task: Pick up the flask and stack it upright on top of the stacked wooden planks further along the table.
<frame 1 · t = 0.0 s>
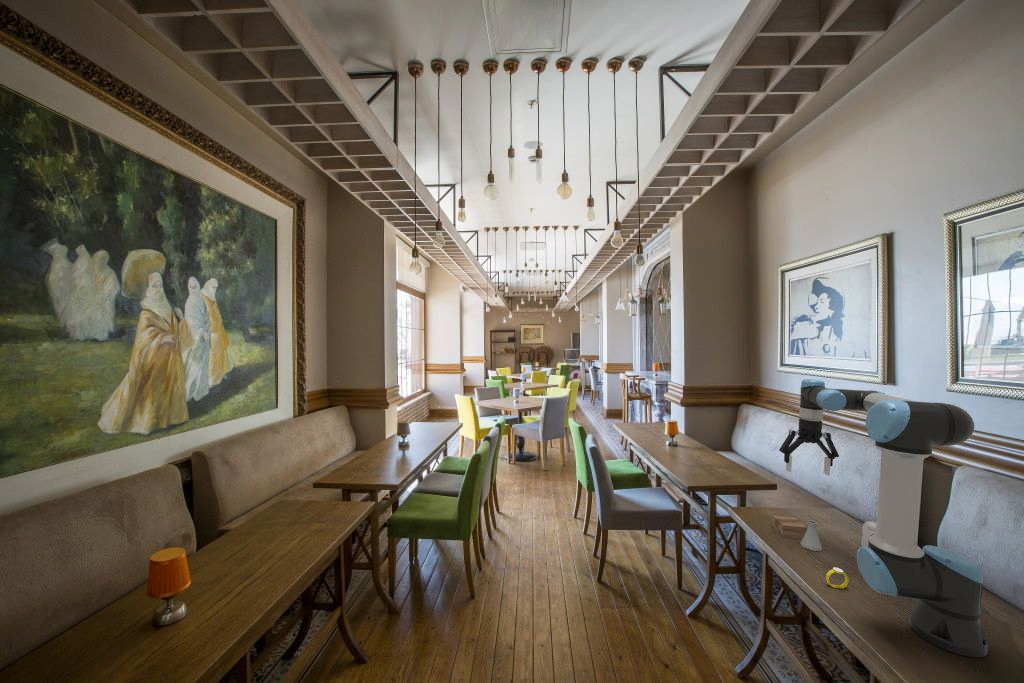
hand: (807, 472, 167), 28 cm above the table, fingers open, 13 cm apart
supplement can: (874, 567, 152), on the table
flask: (810, 547, 165), on the table
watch: (836, 587, 139), on the table
stacked wooden planks: (788, 533, 176), on the table
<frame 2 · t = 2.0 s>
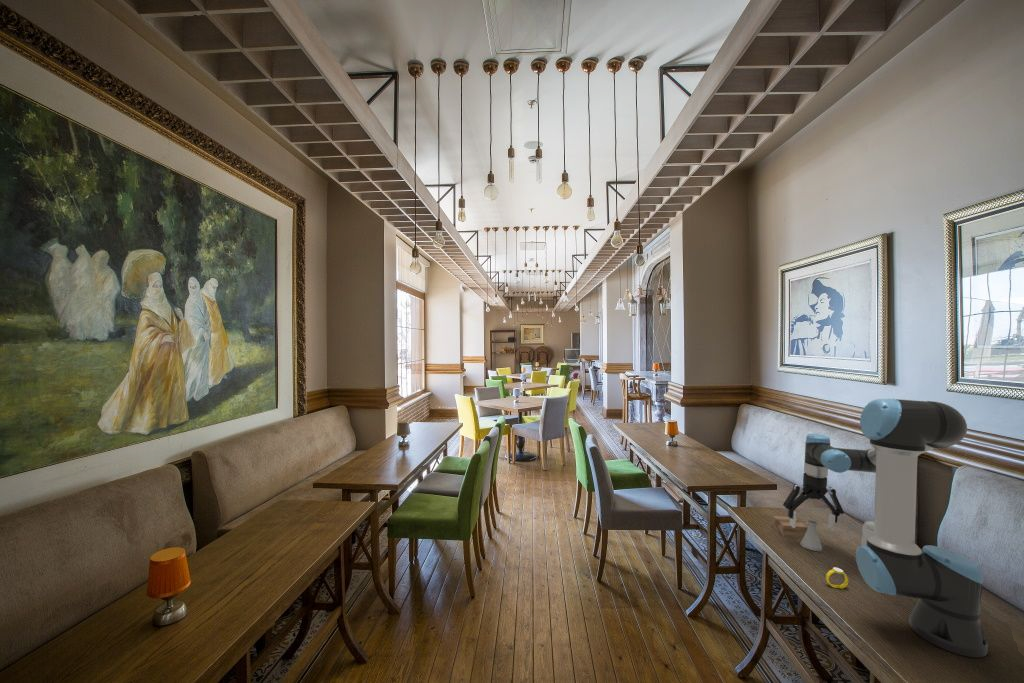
hand: (811, 528, 165), 7 cm above the table, fingers open, 13 cm apart
nothing on the table moved.
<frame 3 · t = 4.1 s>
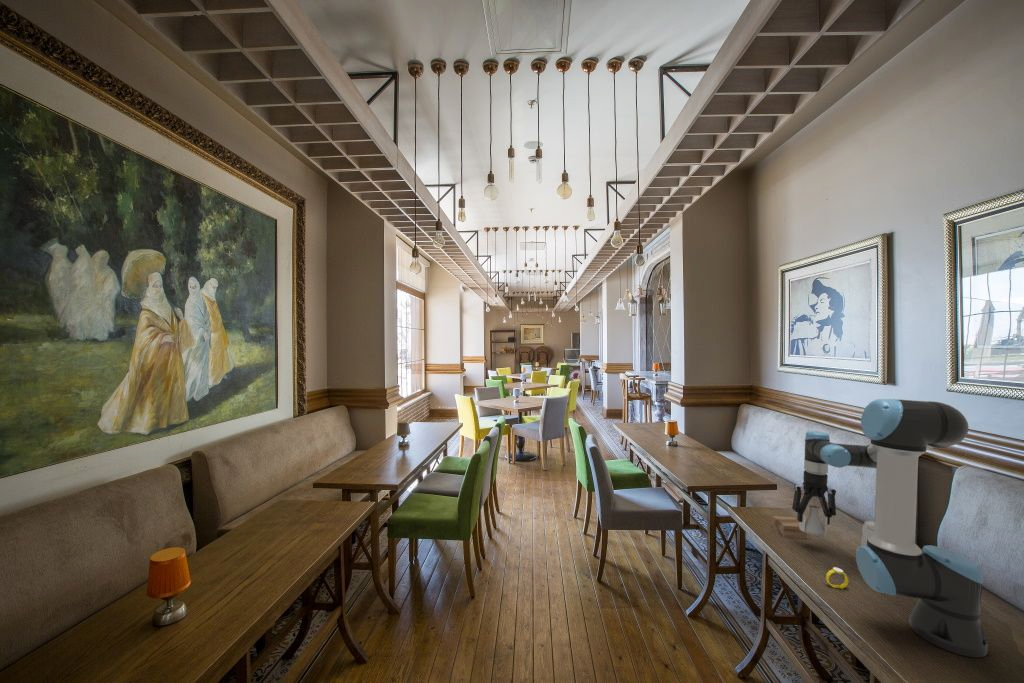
hand: (812, 531, 164), 7 cm above the table, fingers closed on flask, 7 cm apart
flask: (813, 533, 164), point 6 cm above the table, touching gripper
everything else where it was.
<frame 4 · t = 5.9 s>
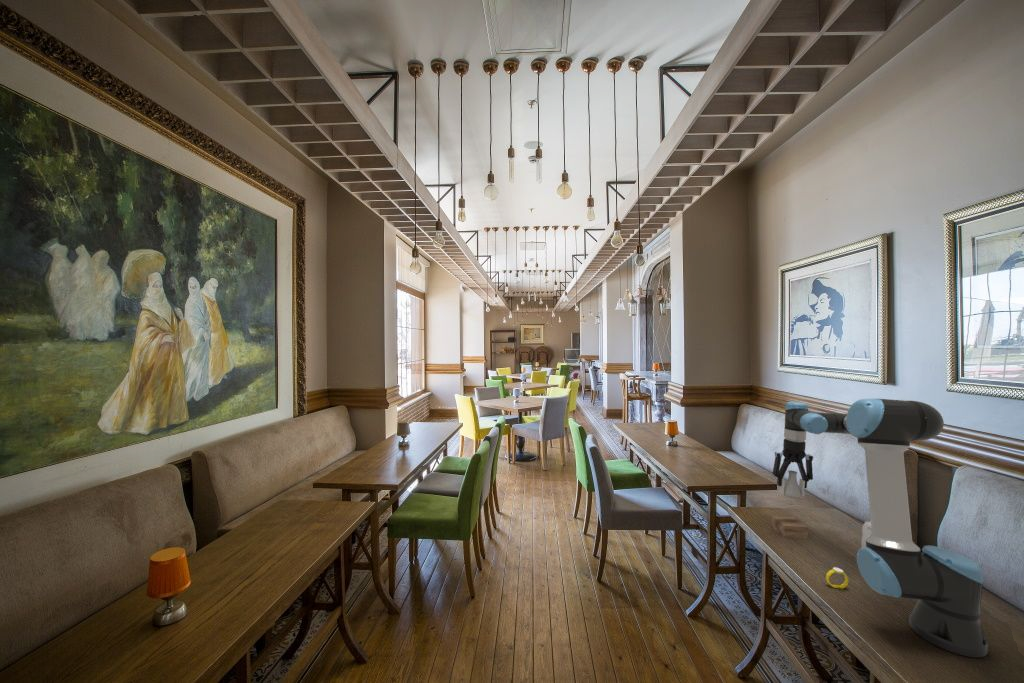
hand: (791, 494, 176), 16 cm above the table, fingers closed on flask, 7 cm apart
flask: (791, 496, 175), point 15 cm above the table, touching gripper
everything else where it was.
when the fingers open (6 cm above the table, at t = 7.9 s): flask stays where it is, resting on stacked wooden planks.
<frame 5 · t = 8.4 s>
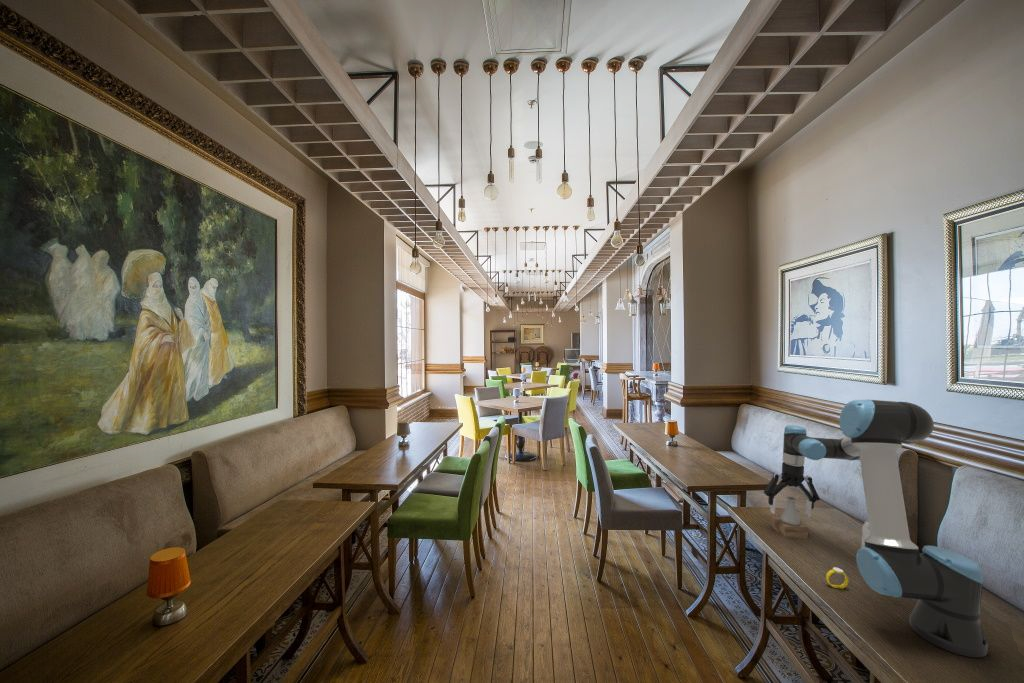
hand: (790, 514, 176), 8 cm above the table, fingers open, 13 cm apart
flask: (790, 522, 176), point 4 cm above the table, touching stacked wooden planks
stacked wooden planks: (789, 533, 176), on the table, touching flask
everything else where it was.
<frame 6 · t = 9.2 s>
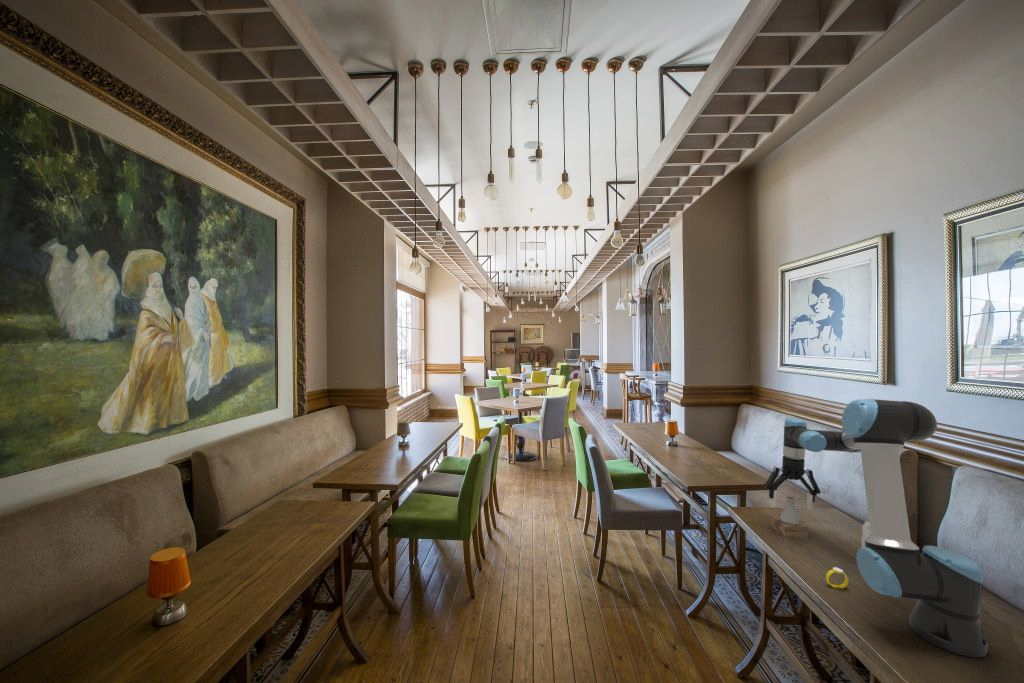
hand: (790, 507, 175), 11 cm above the table, fingers open, 13 cm apart
nothing on the table moved.
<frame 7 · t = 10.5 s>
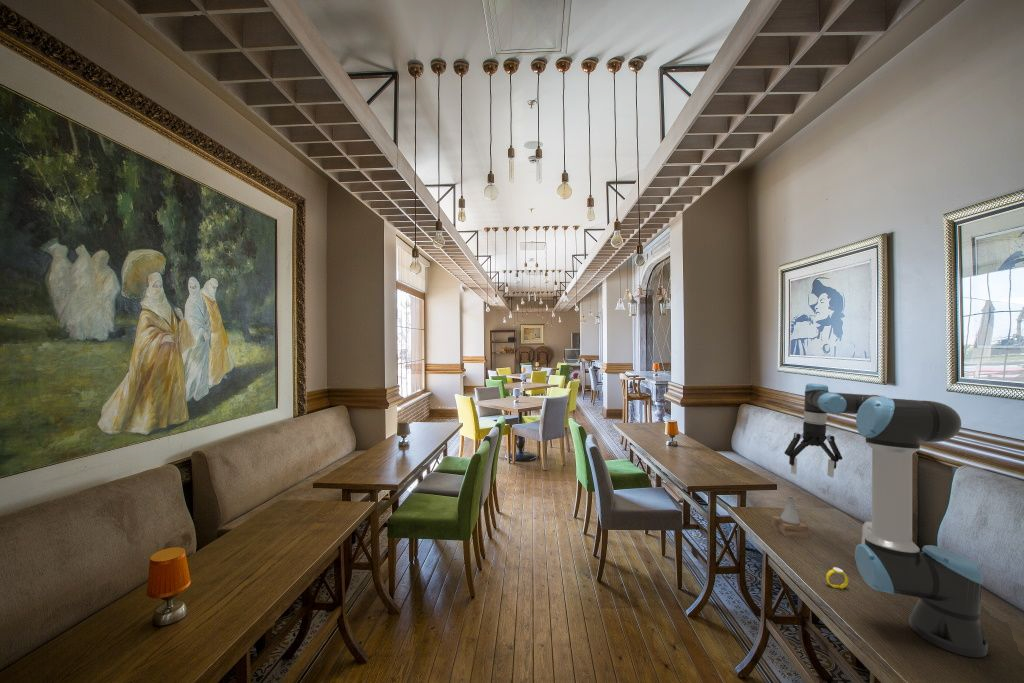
hand: (811, 475, 171), 26 cm above the table, fingers open, 13 cm apart
nothing on the table moved.
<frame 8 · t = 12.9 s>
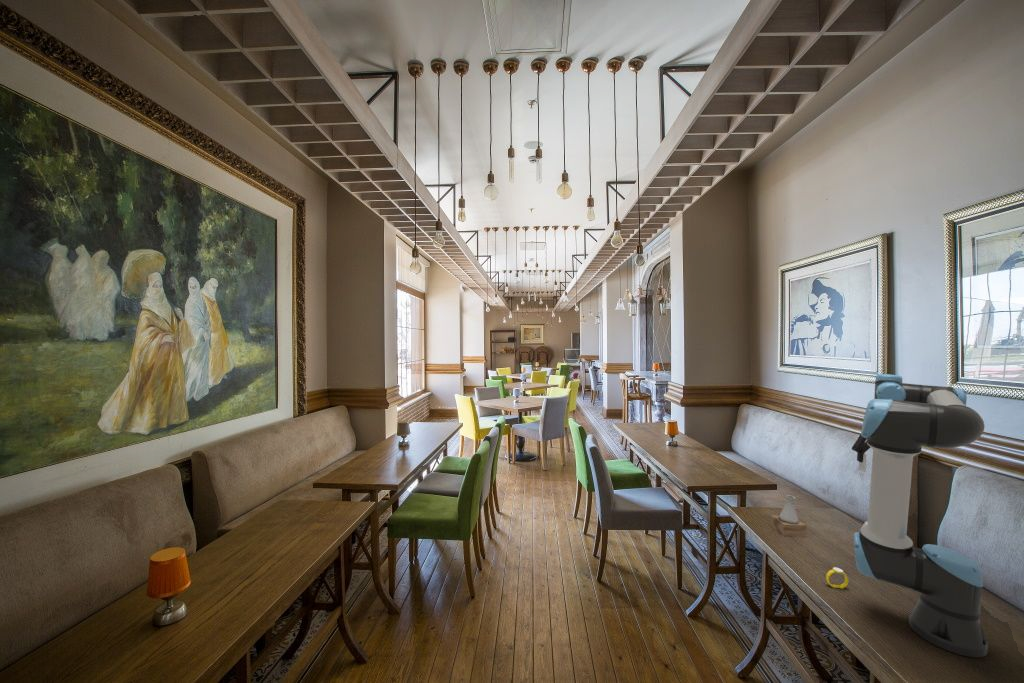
hand: (882, 472, 159), 32 cm above the table, fingers open, 13 cm apart
flask: (788, 520, 177), point 5 cm above the table
stacked wooden planks: (787, 531, 177), on the table
everything else where it was.
at the end: flask 0.1 cm off-centre on the stacked wooden planks, point 4.9 cm above the stacked wooden planks's base; flask tilted 1°; the gripper is holding nothing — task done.
